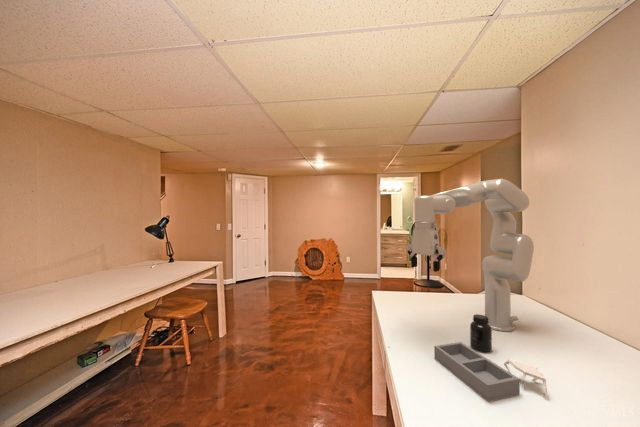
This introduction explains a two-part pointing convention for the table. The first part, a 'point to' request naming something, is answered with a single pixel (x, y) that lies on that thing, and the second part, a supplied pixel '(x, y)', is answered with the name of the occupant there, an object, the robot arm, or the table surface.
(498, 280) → the robot arm
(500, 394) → the divided tray
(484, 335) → the supplement bottle
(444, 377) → the table surface
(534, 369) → the origami figure
